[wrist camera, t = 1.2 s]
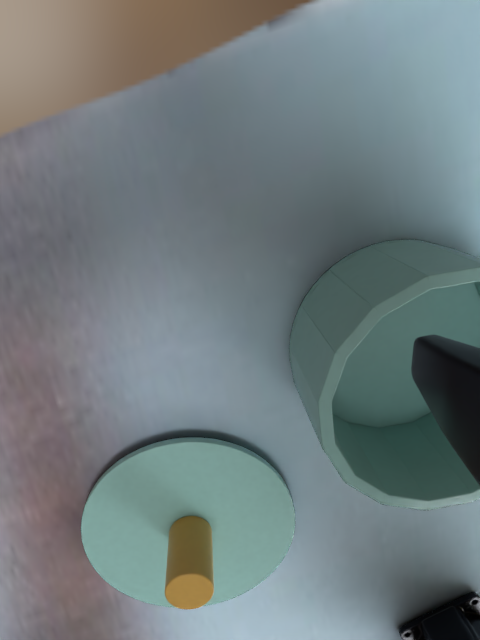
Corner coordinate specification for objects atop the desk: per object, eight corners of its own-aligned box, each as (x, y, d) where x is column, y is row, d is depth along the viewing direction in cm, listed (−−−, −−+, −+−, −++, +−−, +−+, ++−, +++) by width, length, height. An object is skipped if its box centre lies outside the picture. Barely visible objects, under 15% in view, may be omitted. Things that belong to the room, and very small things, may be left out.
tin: (515, 368, 26) (612, 431, 20) (344, 460, 27) (386, 547, 21) (446, 195, 22) (541, 209, 16) (250, 313, 23) (269, 367, 17)
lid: (326, 534, 29) (351, 607, 25) (163, 620, 31) (157, 704, 26) (224, 392, 25) (230, 447, 20) (39, 499, 26) (4, 575, 21)
